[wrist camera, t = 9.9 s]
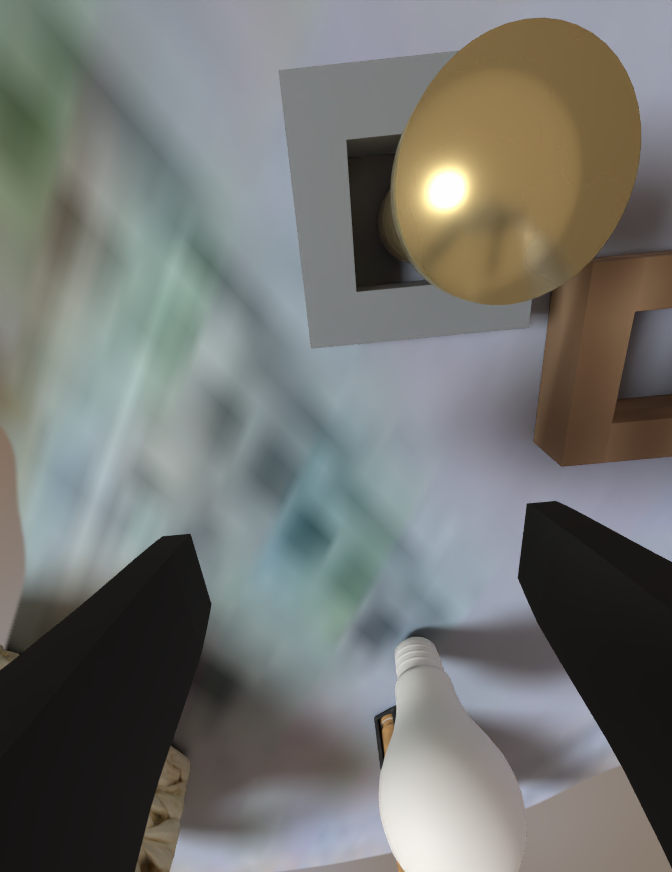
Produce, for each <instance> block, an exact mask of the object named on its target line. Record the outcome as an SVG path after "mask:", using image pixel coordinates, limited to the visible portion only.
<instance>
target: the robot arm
mask: <svg viewBox="0 0 672 872" xmlns="http://www.w3.org/2000/svg"><path fill="white" fill-rule="evenodd" d="M518 579H519V582H520V584H521V586H522V589H523V591H524V594H525V596H526V598H527V601H528V603H529V605H530V607H531V609H532V612H533V614H534V616H535V618H536V620H537V623H538V624H539V626H540V628H541V630H542V631H543V633H544V635H545V637H546V638H547V640H548V642H549V643H550V645H551V647H552V649H553V650H554V652H555V654H556V655H557V657H558V659H559V660H560V662H561V664H562V665H563V667H564V669H565V671H566V672H567V674H568V676H569V677H570V679H571V681H572V682H573V684H574V686H575V687H576V689H577V691H578V692H579V694H580V696H581V697H582V699H583V701H584V702H585V704H586V706H587V707H588V709H589V711H590V712H591V714H592V716H593V717H594V719H595V721H596V722H597V724H598V726H599V727H600V729H601V731H602V732H603V734H604V736H605V737H606V739H607V741H608V743H609V744H610V746H611V748H612V750H613V752H614V753H615V755H616V757H617V759H618V761H619V762H620V764H621V766H622V768H623V770H624V771H625V773H626V775H627V777H628V779H629V781H630V783H631V785H632V788H633V790H634V792H635V794H636V795H637V798H638V800H639V802H640V803H641V806H642V808H643V810H644V812H645V814H646V816H647V818H648V820H649V822H650V824H651V826H652V828H653V830H654V832H655V834H656V836H657V838H658V840H659V842H660V844H661V846H662V848H663V850H664V852H665V854H666V857H667V859H668V861H669V863H670V865H671V868H672V562H671V561H669V560H667V559H665V558H663V557H661V556H659V555H657V554H655V553H654V552H652V551H650V550H648V549H646V548H644V547H642V546H640V545H639V544H637V543H635V542H633V541H631V540H629V539H628V538H626V537H624V536H622V535H620V534H618V533H617V532H615V531H613V530H611V529H609V528H607V527H606V526H604V525H602V524H600V523H598V522H596V521H594V520H593V519H591V518H589V517H587V516H585V515H583V514H581V513H579V512H578V511H576V510H574V509H572V508H570V507H568V506H566V505H563V504H561V503H559V502H557V501H551V502H540V503H529V504H527V507H526V516H525V524H524V532H523V540H522V548H521V556H520V564H519V573H518ZM210 609H211V601H210V598H209V595H208V591H207V588H206V585H205V581H204V578H203V574H202V571H201V568H200V564H199V561H198V558H197V554H196V551H195V547H194V544H193V541H192V537H191V534H184V535H173V536H162V537H161V538H160V539H159V540H157V541H156V542H155V543H153V544H152V545H151V546H150V547H148V548H147V549H146V550H145V551H144V552H142V553H141V554H140V555H139V556H138V557H137V558H135V559H134V560H133V561H132V562H131V563H130V564H128V565H127V566H126V567H125V568H124V569H123V570H122V571H120V572H119V573H118V574H117V575H116V576H115V577H113V578H112V579H111V580H110V581H109V582H108V583H106V584H105V585H104V586H103V587H102V588H101V589H99V590H98V591H97V592H96V593H95V594H94V595H92V596H91V597H90V598H89V599H88V600H87V601H85V602H84V603H83V604H82V605H81V606H80V607H78V608H77V609H76V610H75V611H74V612H72V613H71V614H70V615H69V616H68V617H66V618H65V619H64V620H63V621H61V622H60V623H59V624H58V625H56V626H55V627H54V628H53V629H51V630H50V631H49V632H48V633H46V634H45V635H44V636H43V637H41V638H40V639H39V640H38V641H36V642H35V643H34V644H33V645H31V646H30V647H29V648H28V649H26V650H25V651H24V652H23V653H21V654H20V655H19V656H18V657H16V658H15V659H14V660H13V661H11V662H10V663H9V664H7V665H6V666H5V667H3V668H2V669H1V670H0V872H135V870H136V866H137V862H138V858H139V853H140V849H141V845H142V841H143V837H144V833H145V829H146V825H147V821H148V817H149V813H150V809H151V806H152V803H153V799H154V796H155V793H156V789H157V786H158V783H159V779H160V776H161V773H162V770H163V767H164V764H165V761H166V758H167V755H168V752H169V749H170V746H171V743H172V740H173V737H174V734H175V731H176V728H177V725H178V722H179V719H180V716H181V713H182V711H183V708H184V705H185V702H186V699H187V696H188V693H189V690H190V687H191V684H192V681H193V677H194V674H195V671H196V668H197V665H198V662H199V659H200V656H201V653H202V648H203V644H204V639H205V635H206V630H207V625H208V620H209V615H210Z"/></svg>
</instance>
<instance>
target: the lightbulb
mask: <svg viewBox="0 0 672 872" xmlns="http://www.w3.org/2000/svg"><path fill="white" fill-rule="evenodd" d="M395 662H396V670H397V672H396V673H397V678H398V680H397V682H396V685H395V694H396V720H395V725H394V731H393V734H392V737H391V740H390V743H389V745H388V748H387V751H386V754H385V758H384V762H383V765H382V769H381V772H380V783H379V808H380V816H381V820H382V824H383V828H384V831H385V834H386V837H387V840H388V842H389V845H390V847H391V850H392V853H393V854H394V856H395V858H396V859H397V861H398V863H399V864H400V866H401V867H402V869H403V870H404V871H405V872H518V871H519V867H520V865H521V861H522V858H523V855H524V851H525V843H526V835H527V834H526V833H527V832H526V817H525V807H524V802H523V797H522V793H521V790H520V787H519V785H518V782H517V779H516V777H515V775H514V773H513V770H512V769H511V767H510V765H509V764H508V762H507V760H506V758H505V757H504V755H503V753H502V752H501V751H500V750H499V749H498V748H497V746H496V745H495V744H494V743H493V742H492V740H491V739H490V738H489V737H488V736H487V735H486V733H485V732H484V731H483V730H482V729H481V728H480V727H479V726H478V725H477V724H476V723H475V722H474V721H473V720H472V719H471V717H470V716H469V715H468V713H467V712H466V710H465V709H464V707H463V706H462V704H461V703H460V701H459V699H458V697H457V695H456V692H455V690H454V687H453V684H452V681H451V679H450V677H449V676H448V674H447V673H446V672H445V671H444V668H443V666H442V663H441V660H440V658H439V654H438V652H437V650H436V647H435V645H434V644H433V643H432V642H431V641H430V640H428V639H426V638H423V637H410V638H407V639H405V640H403V641H402V642H401V643H400V644H399V645H398V646H397V648H396V650H395Z"/></svg>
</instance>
